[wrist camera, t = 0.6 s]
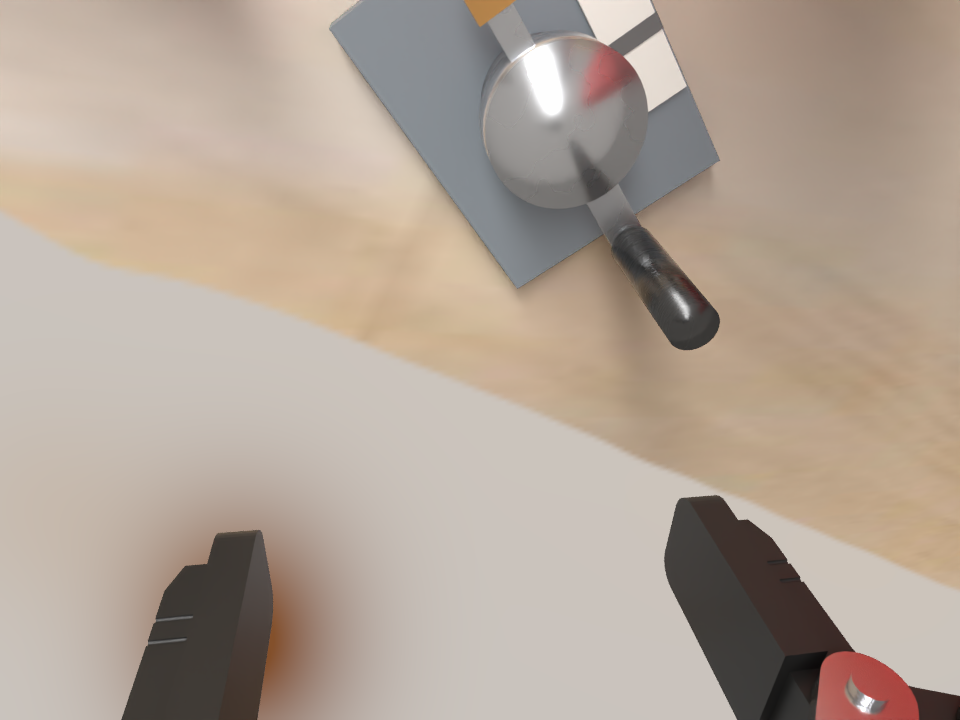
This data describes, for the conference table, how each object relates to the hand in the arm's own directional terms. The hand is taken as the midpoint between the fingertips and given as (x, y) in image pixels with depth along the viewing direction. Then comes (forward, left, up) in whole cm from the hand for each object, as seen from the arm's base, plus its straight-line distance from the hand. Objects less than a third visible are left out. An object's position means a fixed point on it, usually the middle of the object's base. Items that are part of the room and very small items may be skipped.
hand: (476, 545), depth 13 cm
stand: (-6, 0, -21) cm, 22 cm away
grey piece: (-6, 0, -17) cm, 18 cm away
